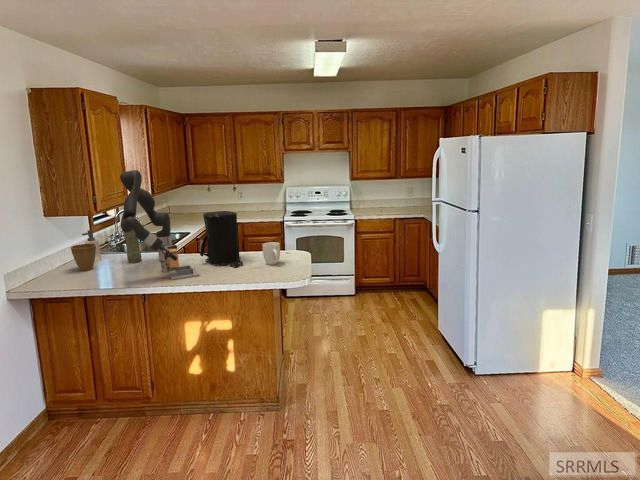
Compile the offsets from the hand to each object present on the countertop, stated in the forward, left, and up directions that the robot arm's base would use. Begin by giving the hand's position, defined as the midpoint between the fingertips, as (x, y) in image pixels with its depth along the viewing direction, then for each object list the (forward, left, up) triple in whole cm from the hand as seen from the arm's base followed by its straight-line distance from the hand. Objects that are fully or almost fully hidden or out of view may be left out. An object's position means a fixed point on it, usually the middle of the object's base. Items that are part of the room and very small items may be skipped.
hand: (175, 258), depth 284 cm
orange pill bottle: (0, -1, -5) cm, 5 cm away
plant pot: (-48, -52, -11) cm, 72 cm away
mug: (+7, +59, -11) cm, 60 cm away
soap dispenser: (-70, -49, -11) cm, 86 cm away
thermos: (-51, -22, -11) cm, 57 cm away
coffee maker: (-14, +30, -11) cm, 35 cm away
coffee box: (-14, -3, -11) cm, 18 cm away
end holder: (0, +4, -11) cm, 11 cm away
